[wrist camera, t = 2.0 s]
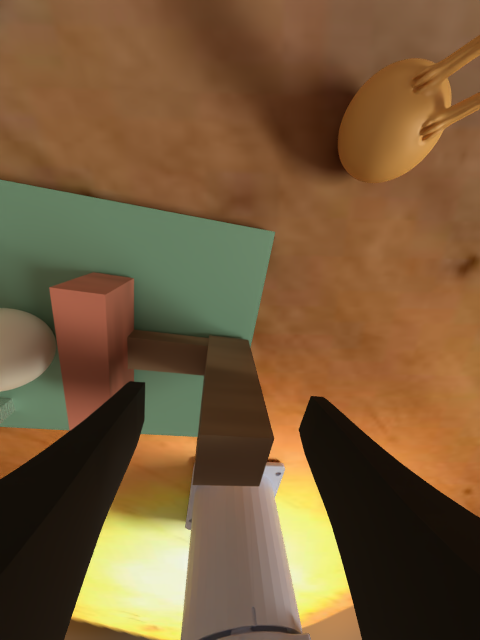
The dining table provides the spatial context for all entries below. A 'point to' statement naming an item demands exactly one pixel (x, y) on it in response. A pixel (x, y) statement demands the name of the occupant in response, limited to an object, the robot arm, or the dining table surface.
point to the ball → (23, 348)
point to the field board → (149, 287)
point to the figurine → (402, 115)
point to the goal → (6, 408)
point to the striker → (163, 356)
